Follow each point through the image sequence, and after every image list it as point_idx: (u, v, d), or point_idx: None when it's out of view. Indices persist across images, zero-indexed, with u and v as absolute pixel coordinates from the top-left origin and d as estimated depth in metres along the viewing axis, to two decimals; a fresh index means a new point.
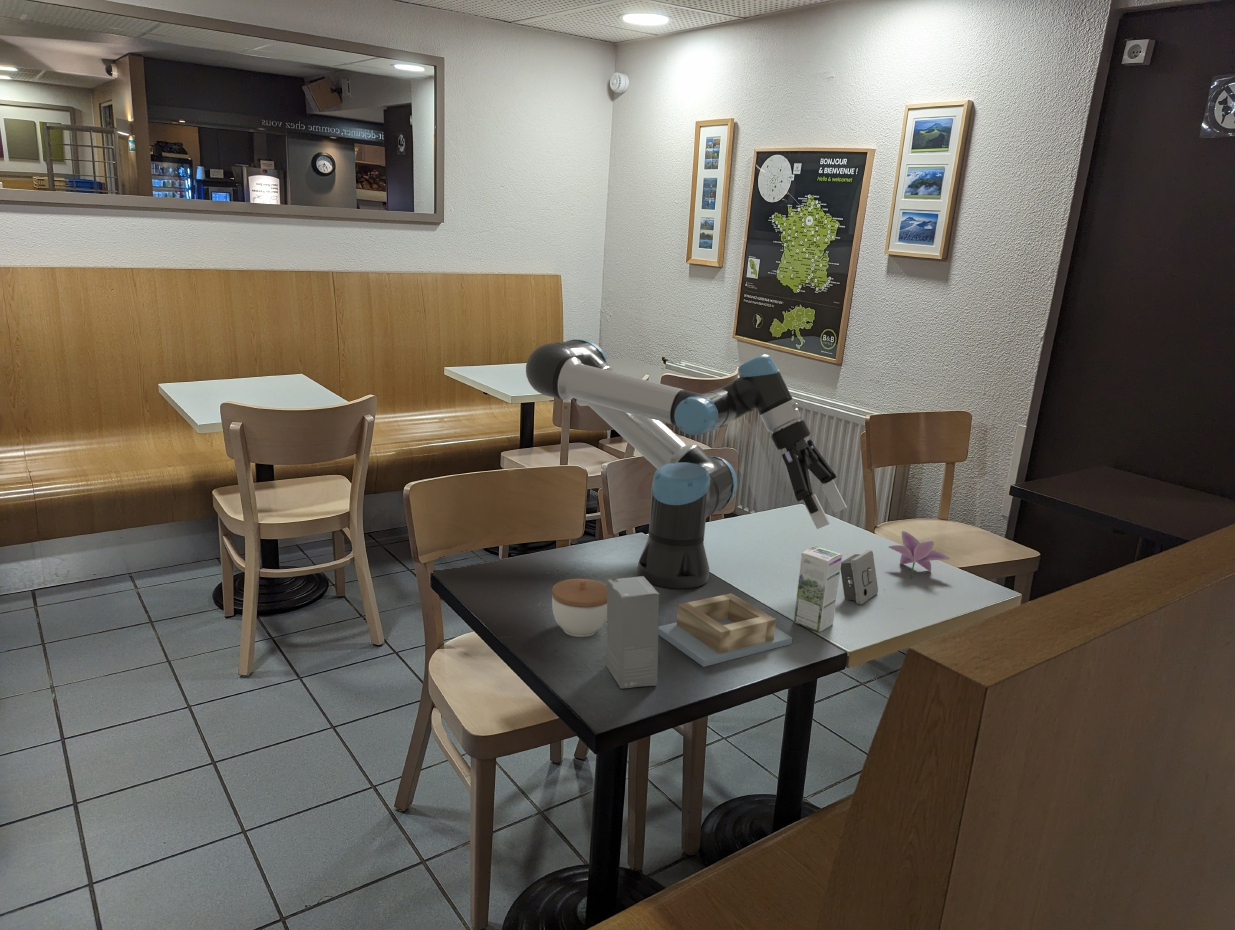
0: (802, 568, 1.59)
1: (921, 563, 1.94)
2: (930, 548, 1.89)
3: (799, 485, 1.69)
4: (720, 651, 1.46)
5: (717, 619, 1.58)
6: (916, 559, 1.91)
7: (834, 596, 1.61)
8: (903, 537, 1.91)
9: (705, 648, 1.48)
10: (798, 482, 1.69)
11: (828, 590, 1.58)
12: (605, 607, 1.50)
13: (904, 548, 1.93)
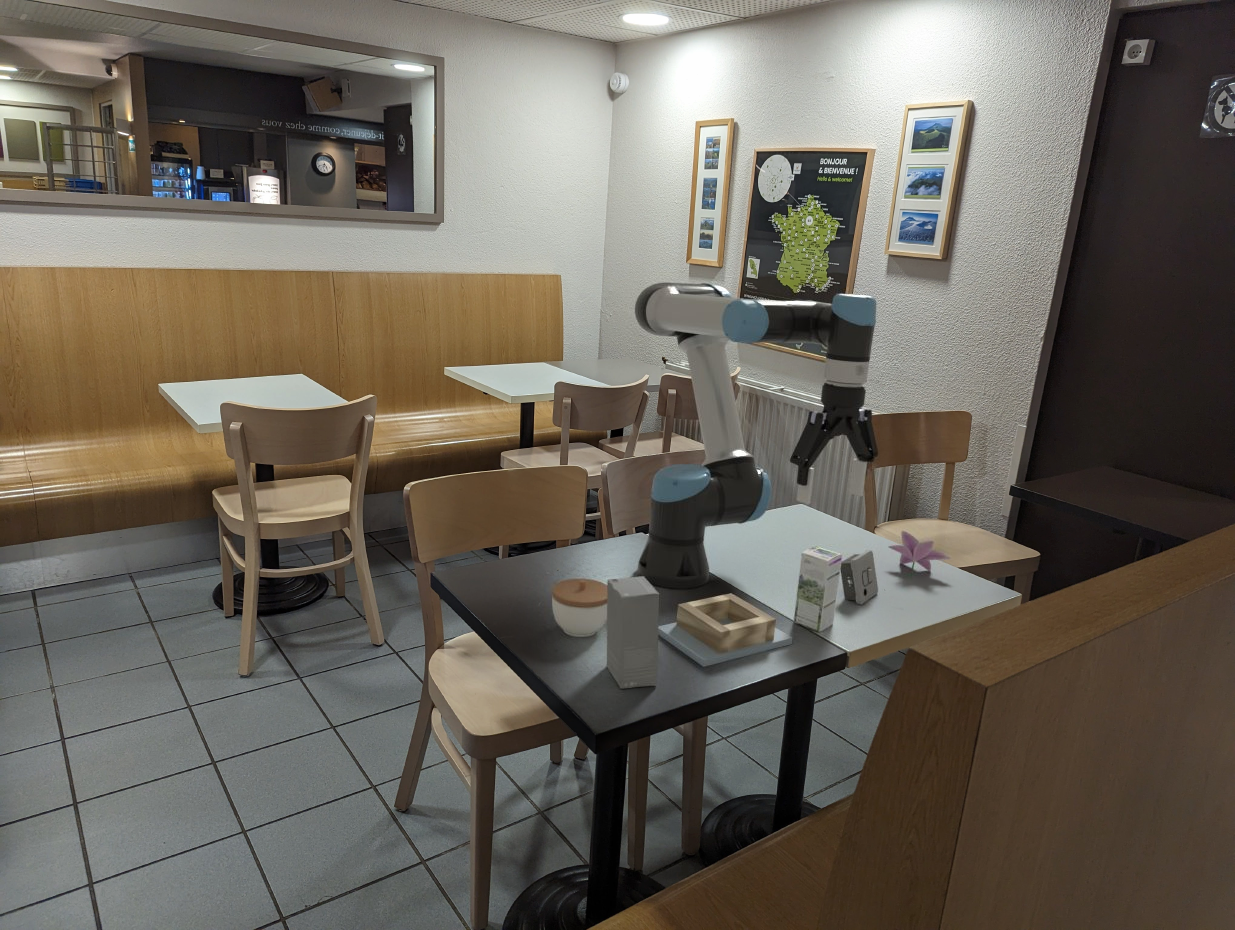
0: (802, 568, 1.59)
1: (921, 563, 1.94)
2: (930, 548, 1.89)
3: (800, 451, 1.50)
4: (720, 651, 1.46)
5: (717, 619, 1.58)
6: (916, 559, 1.91)
7: (834, 596, 1.61)
8: (903, 537, 1.92)
9: (705, 648, 1.48)
10: (801, 448, 1.50)
11: (828, 590, 1.58)
12: (605, 607, 1.50)
13: (904, 548, 1.93)
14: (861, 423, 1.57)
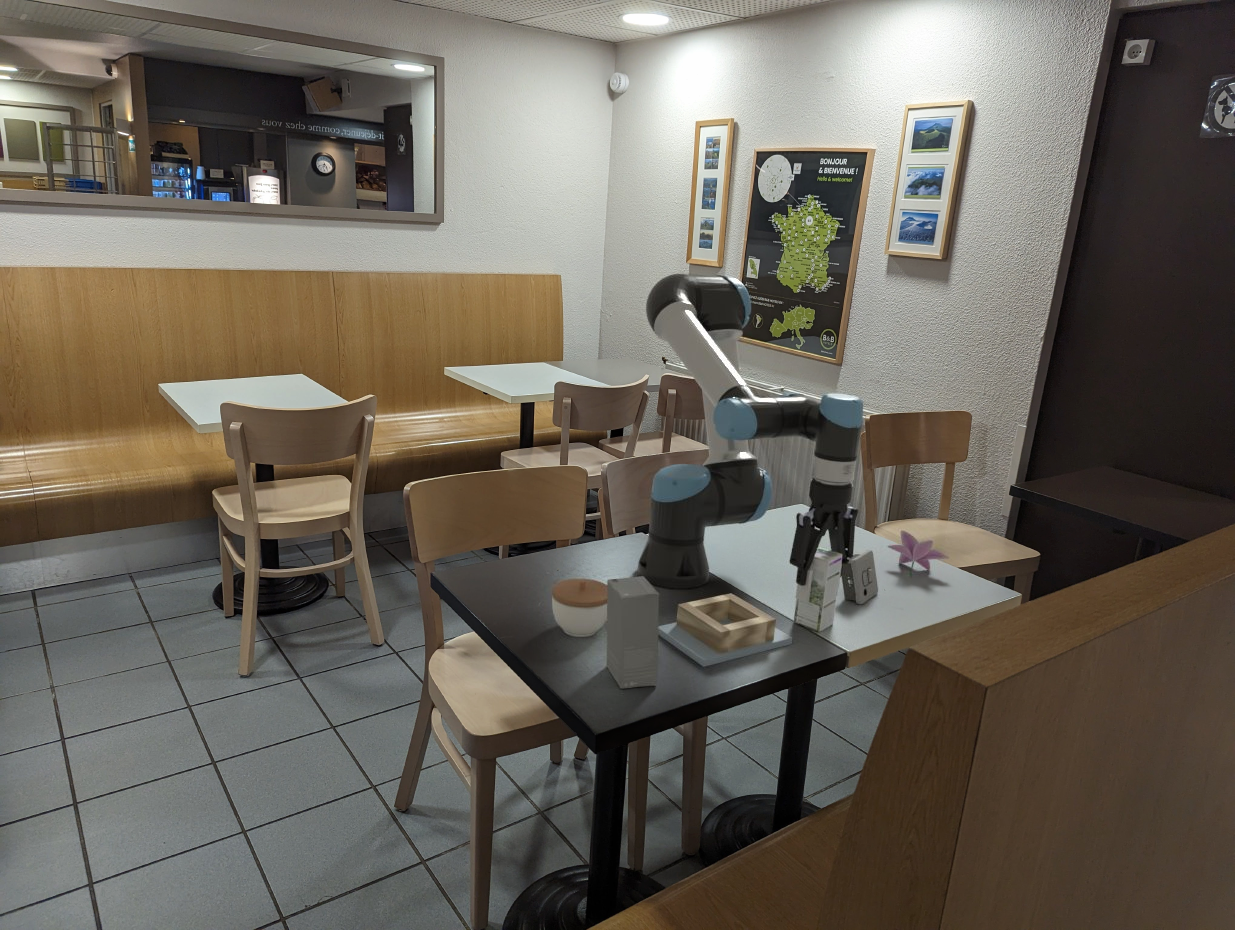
0: None
1: (920, 562, 1.94)
2: (929, 548, 1.90)
3: (796, 555, 1.55)
4: (720, 651, 1.46)
5: (717, 619, 1.58)
6: (915, 558, 1.91)
7: (834, 596, 1.61)
8: (902, 537, 1.92)
9: (705, 648, 1.48)
10: (797, 551, 1.55)
11: (828, 590, 1.58)
12: (605, 607, 1.50)
13: (903, 547, 1.93)
14: (845, 521, 1.61)
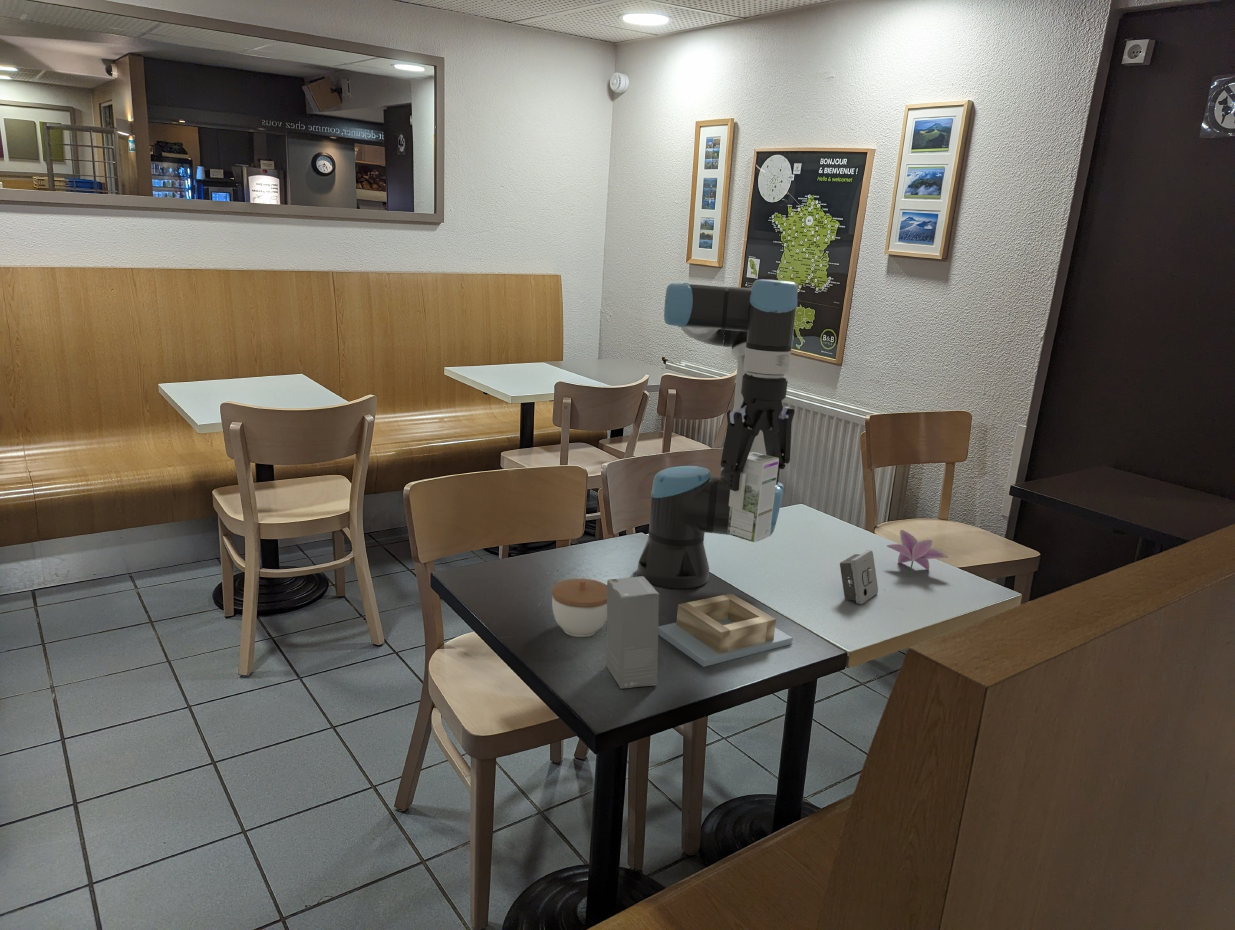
0: None
1: (919, 562, 1.95)
2: (929, 547, 1.90)
3: (728, 456, 1.43)
4: (720, 651, 1.46)
5: (717, 619, 1.58)
6: (914, 558, 1.92)
7: (770, 504, 1.49)
8: (902, 536, 1.92)
9: (705, 648, 1.48)
10: (728, 452, 1.43)
11: (763, 496, 1.46)
12: (605, 607, 1.50)
13: (902, 547, 1.93)
14: (781, 422, 1.49)
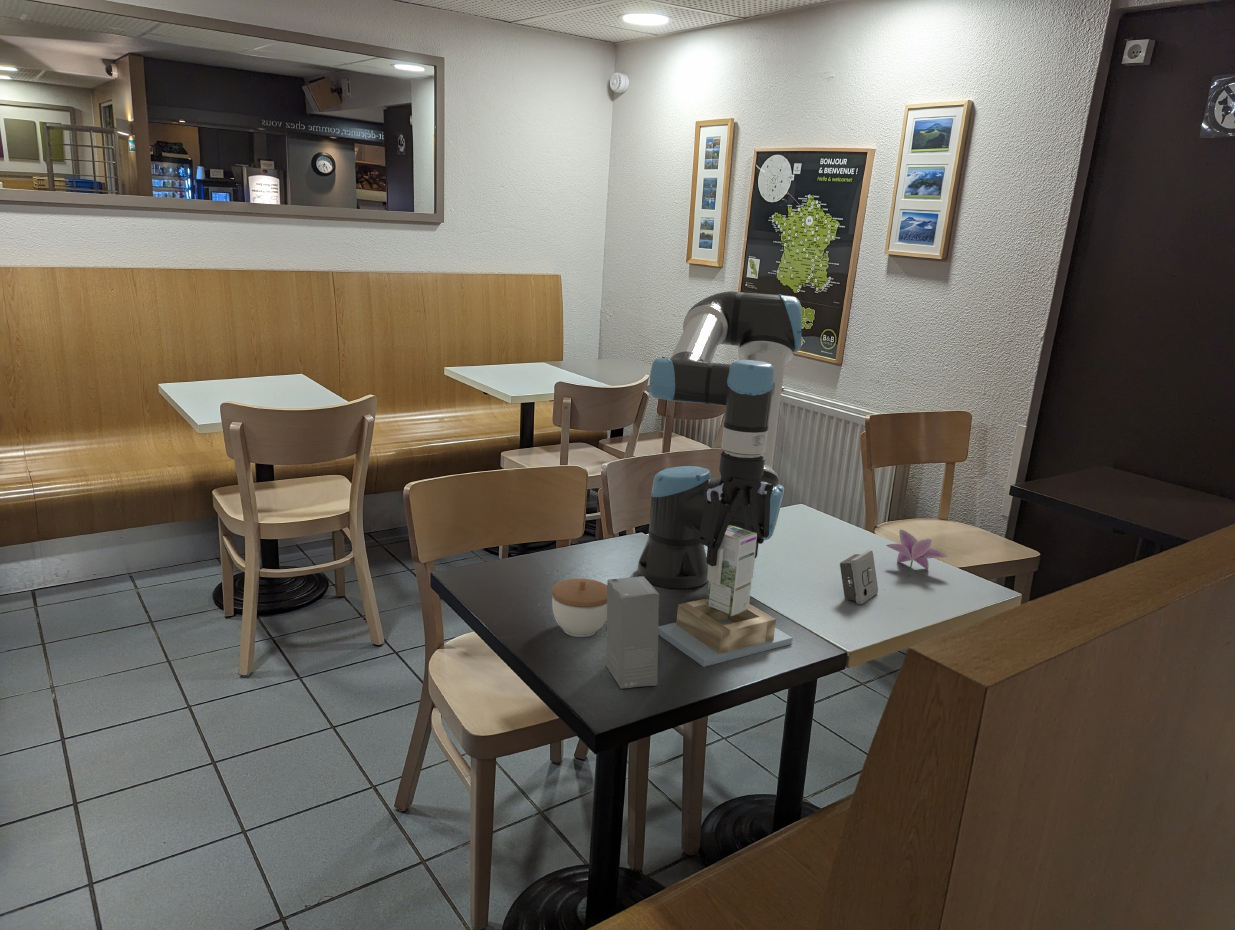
0: None
1: (918, 561, 1.95)
2: (928, 546, 1.90)
3: (705, 533, 1.45)
4: (720, 651, 1.46)
5: (717, 619, 1.58)
6: (914, 557, 1.92)
7: (749, 578, 1.51)
8: (901, 536, 1.92)
9: (705, 648, 1.48)
10: (705, 529, 1.45)
11: (741, 571, 1.48)
12: (605, 607, 1.50)
13: (902, 546, 1.94)
14: (760, 498, 1.51)
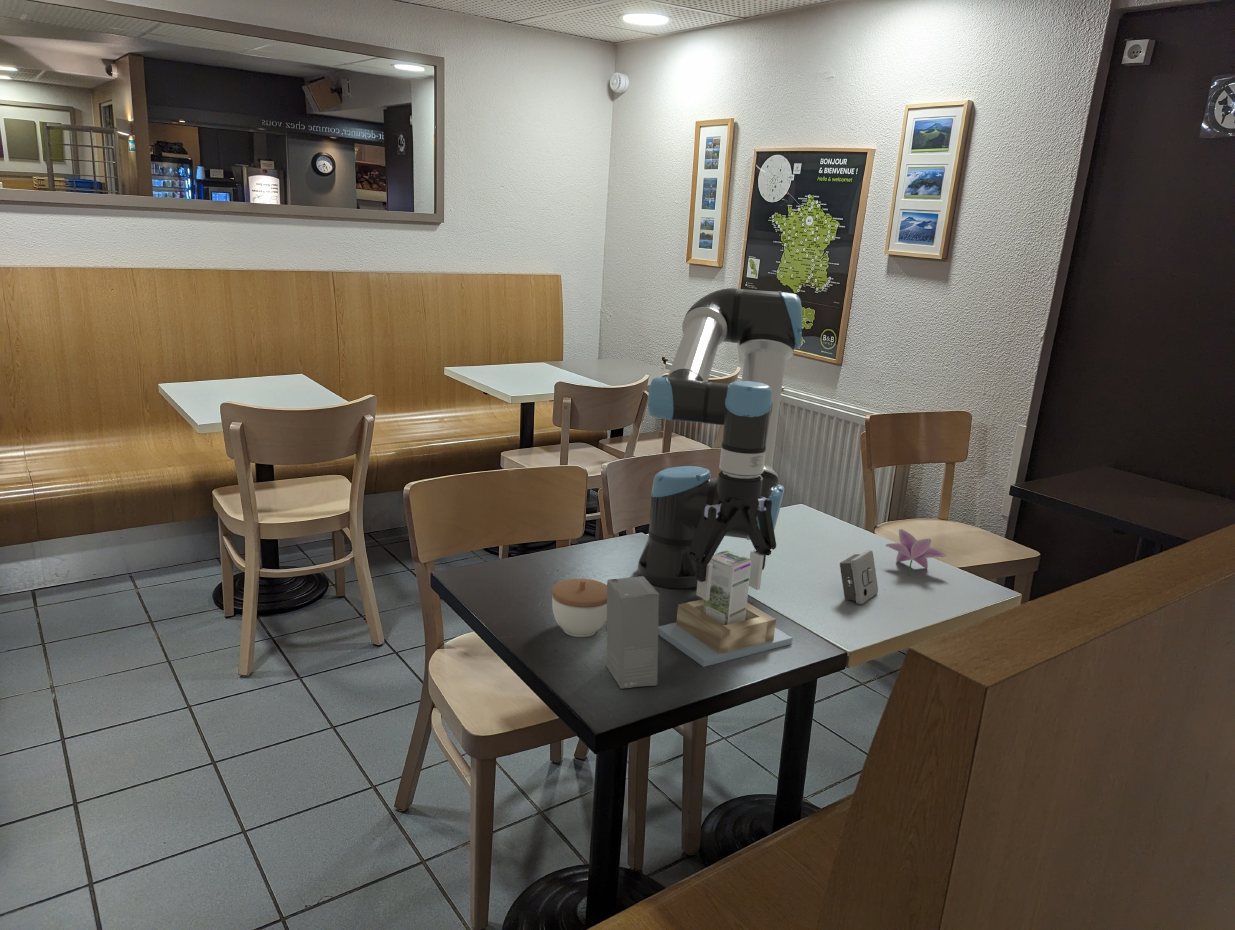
0: None
1: (918, 560, 1.95)
2: (927, 546, 1.91)
3: (696, 548, 1.45)
4: (720, 651, 1.46)
5: None
6: (913, 557, 1.92)
7: (743, 604, 1.52)
8: (900, 535, 1.93)
9: (705, 648, 1.48)
10: (697, 544, 1.45)
11: (735, 597, 1.49)
12: (605, 607, 1.50)
13: (901, 546, 1.94)
14: (761, 513, 1.52)
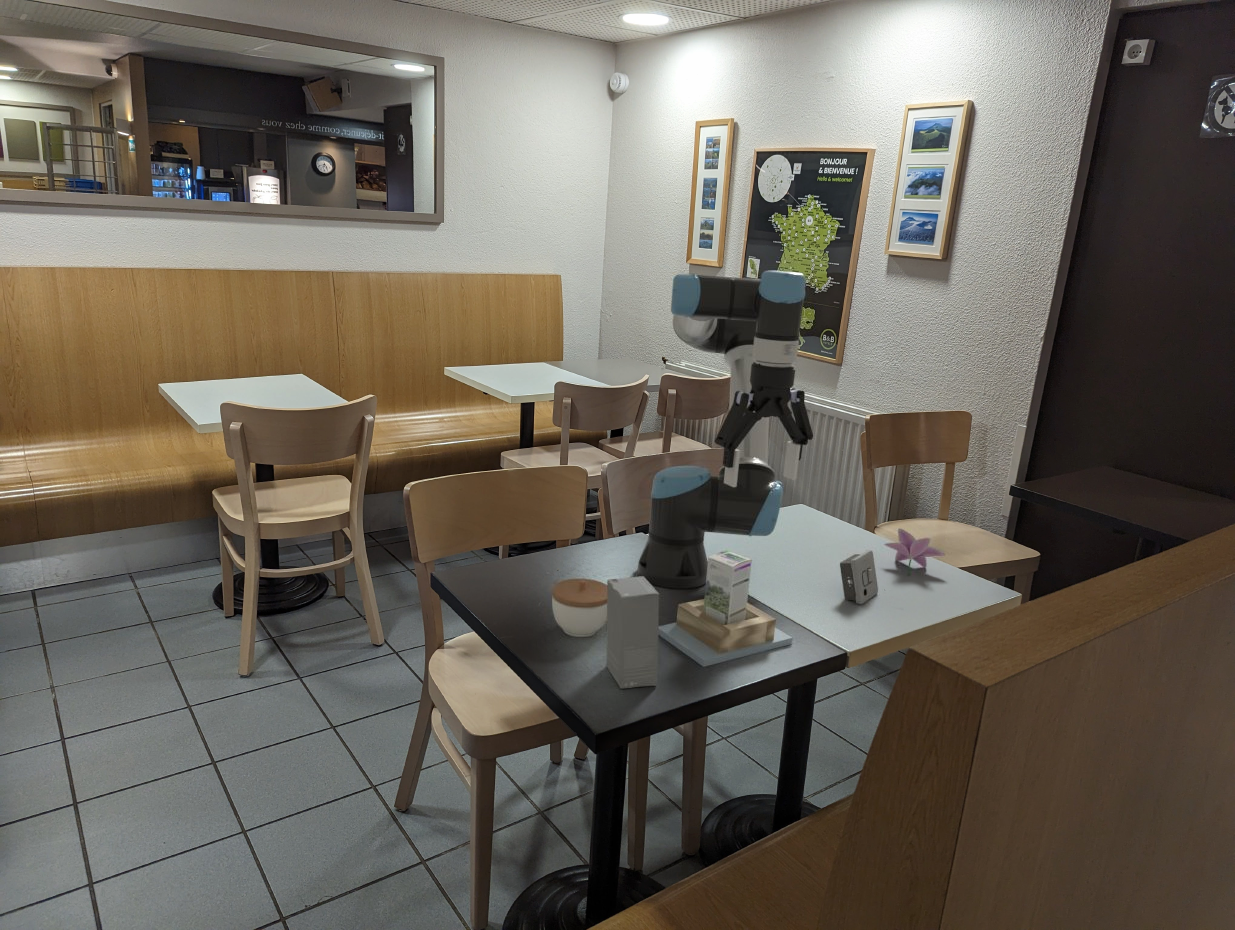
0: (708, 573, 1.51)
1: (916, 560, 1.96)
2: (926, 545, 1.91)
3: (724, 433, 1.46)
4: (720, 651, 1.46)
5: None
6: (912, 556, 1.93)
7: (743, 604, 1.52)
8: (899, 535, 1.93)
9: (705, 648, 1.48)
10: (726, 429, 1.46)
11: (735, 597, 1.49)
12: (605, 607, 1.50)
13: (900, 545, 1.94)
14: (794, 405, 1.53)
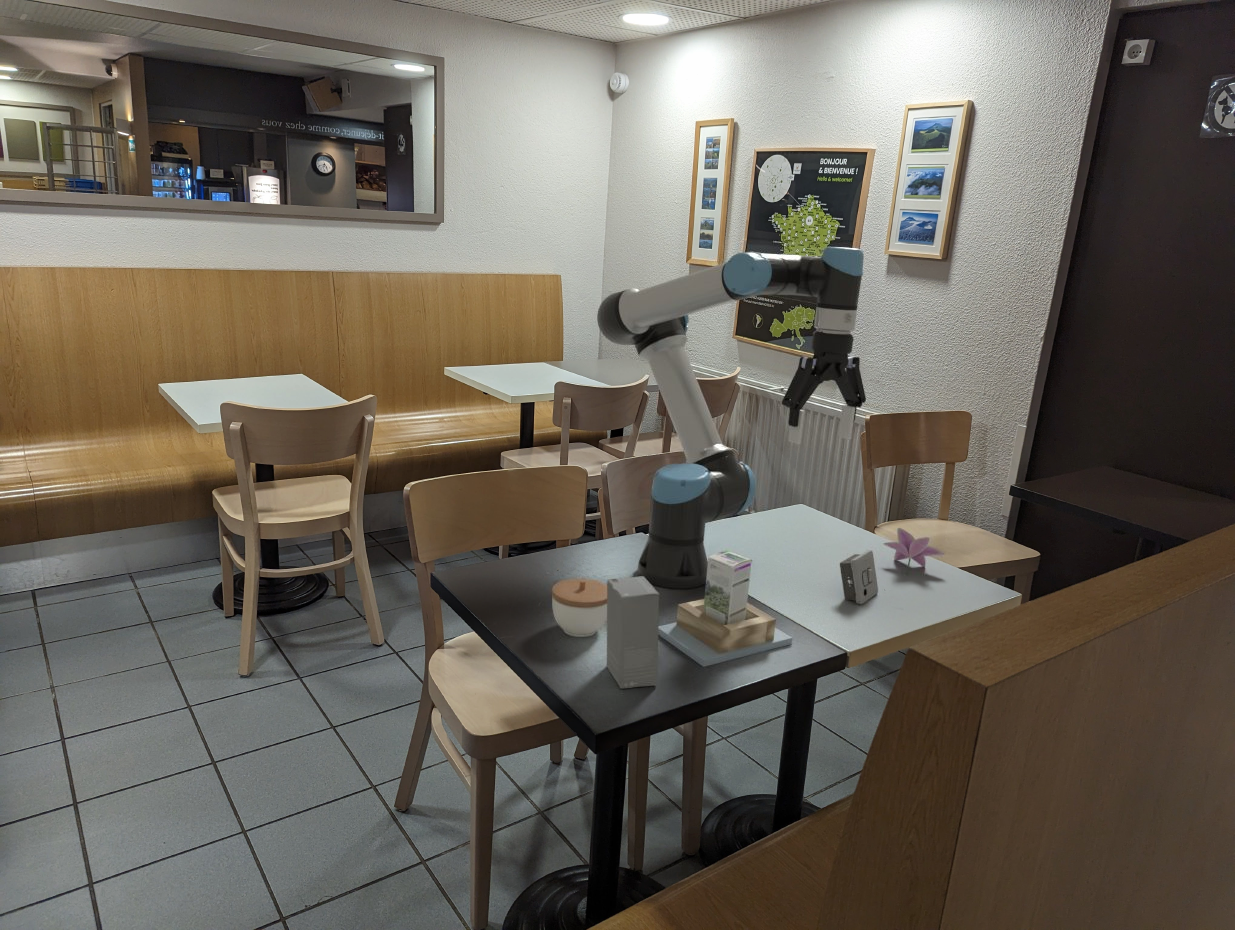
0: (708, 573, 1.51)
1: (916, 559, 1.96)
2: (926, 544, 1.92)
3: (791, 394, 1.60)
4: (720, 651, 1.46)
5: None
6: (912, 555, 1.93)
7: (743, 604, 1.52)
8: (899, 534, 1.94)
9: (705, 648, 1.48)
10: (792, 390, 1.60)
11: (735, 597, 1.49)
12: (605, 607, 1.50)
13: (899, 545, 1.95)
14: (850, 371, 1.68)
